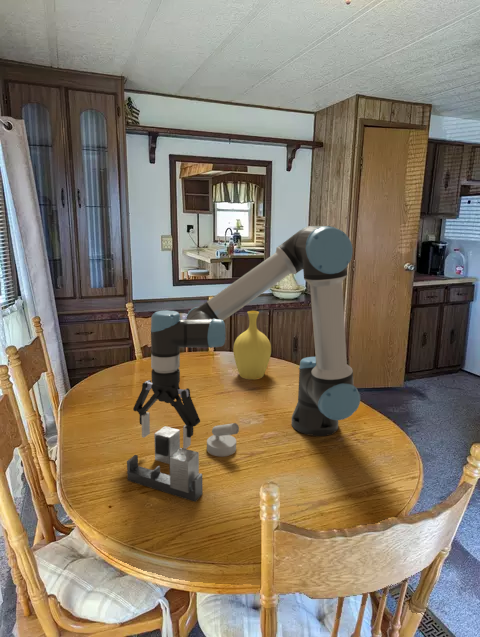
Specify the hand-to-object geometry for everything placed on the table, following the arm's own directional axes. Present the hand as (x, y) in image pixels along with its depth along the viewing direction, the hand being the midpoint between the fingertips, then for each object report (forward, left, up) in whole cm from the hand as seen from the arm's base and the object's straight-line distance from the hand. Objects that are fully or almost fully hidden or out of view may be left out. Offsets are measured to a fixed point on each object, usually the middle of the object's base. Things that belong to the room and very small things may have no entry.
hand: (165, 441), depth 122 cm
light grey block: (0, 0, -5) cm, 5 cm away
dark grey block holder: (-7, +12, -5) cm, 15 cm away
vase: (+5, -72, -5) cm, 73 cm away
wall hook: (-12, -11, -5) cm, 18 cm away
